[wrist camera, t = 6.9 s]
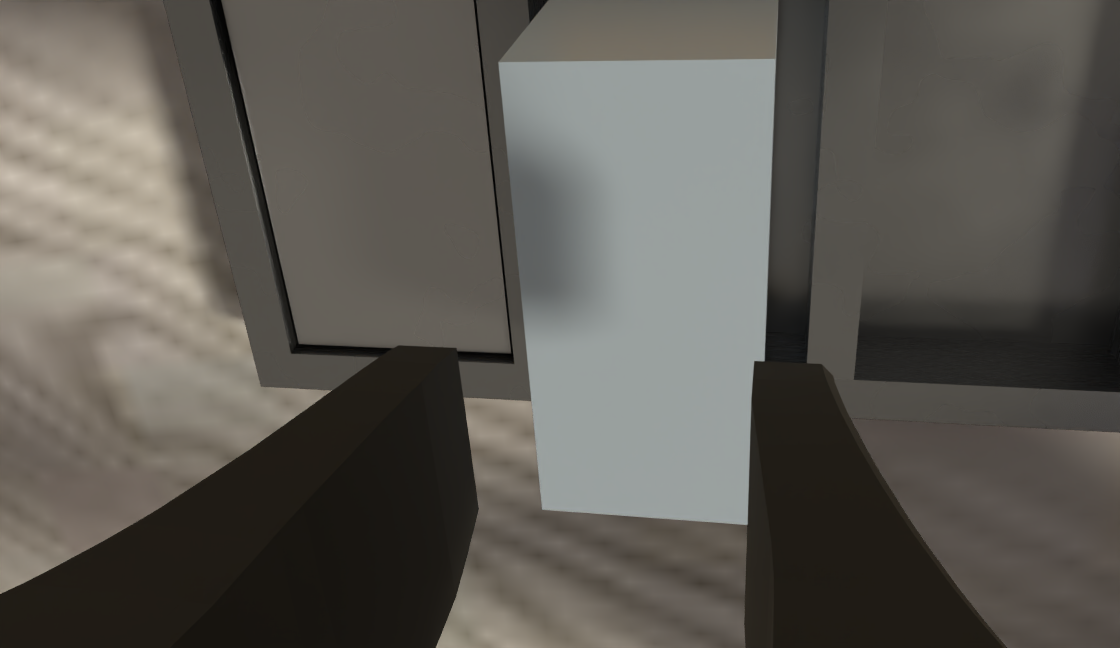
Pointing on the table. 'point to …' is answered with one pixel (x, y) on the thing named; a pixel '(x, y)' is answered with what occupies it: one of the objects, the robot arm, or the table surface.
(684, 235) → the block
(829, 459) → the robot arm
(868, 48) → the rack
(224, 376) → the table surface
